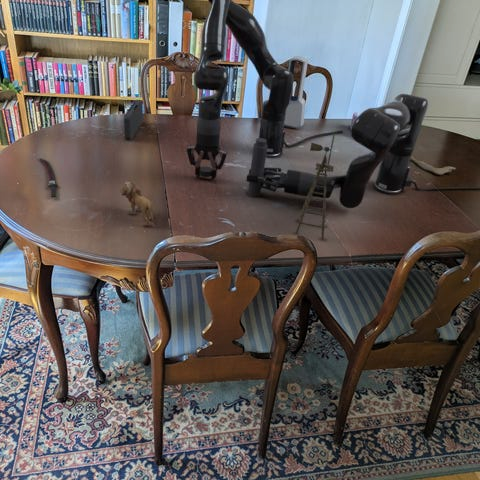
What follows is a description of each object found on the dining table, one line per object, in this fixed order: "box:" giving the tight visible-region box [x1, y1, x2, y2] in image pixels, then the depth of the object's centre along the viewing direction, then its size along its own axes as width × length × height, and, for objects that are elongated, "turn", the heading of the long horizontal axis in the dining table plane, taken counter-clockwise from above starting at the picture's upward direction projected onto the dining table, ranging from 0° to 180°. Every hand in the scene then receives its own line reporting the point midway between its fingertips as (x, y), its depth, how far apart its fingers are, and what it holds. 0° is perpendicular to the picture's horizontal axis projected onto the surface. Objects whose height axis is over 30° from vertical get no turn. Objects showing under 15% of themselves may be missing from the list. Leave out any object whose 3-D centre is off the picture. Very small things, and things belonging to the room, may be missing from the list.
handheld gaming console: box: [123, 99, 144, 141], centre depth 190 cm, size 23×3×10 cm, turn 178°
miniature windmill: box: [294, 133, 335, 240], centre depth 130 cm, size 9×8×30 cm
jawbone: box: [410, 155, 457, 176], centre depth 188 cm, size 9×20×2 cm, turn 50°
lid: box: [199, 165, 213, 178], centre depth 160 cm, size 5×5×2 cm
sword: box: [40, 158, 59, 198], centre depth 151 cm, size 31×3×1 cm, turn 26°
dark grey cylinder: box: [247, 137, 267, 198], centre depth 150 cm, size 4×4×19 cm
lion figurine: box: [119, 181, 159, 227], centre depth 134 cm, size 15×5×9 cm, turn 50°
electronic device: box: [284, 55, 309, 130], centre depth 208 cm, size 12×8×30 cm, turn 71°
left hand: (205, 177), depth 161 cm, fingers closed on lid, 4 cm apart
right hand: (248, 174), depth 152 cm, fingers closed on dark grey cylinder, 4 cm apart
